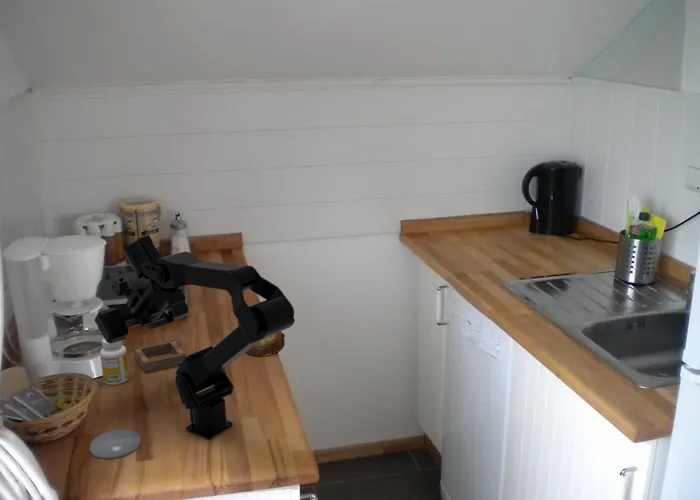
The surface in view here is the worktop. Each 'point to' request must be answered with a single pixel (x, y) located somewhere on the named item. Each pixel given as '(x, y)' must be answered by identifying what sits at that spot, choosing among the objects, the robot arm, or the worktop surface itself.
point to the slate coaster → (115, 444)
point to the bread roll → (268, 345)
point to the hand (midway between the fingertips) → (129, 334)
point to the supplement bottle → (114, 363)
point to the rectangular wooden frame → (159, 349)
